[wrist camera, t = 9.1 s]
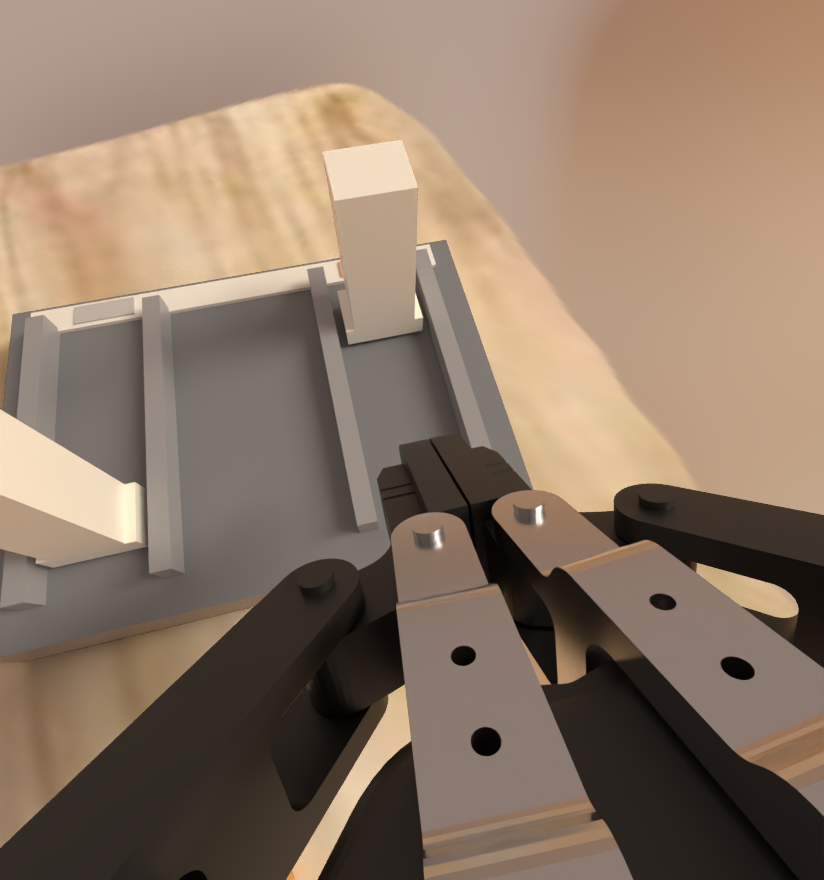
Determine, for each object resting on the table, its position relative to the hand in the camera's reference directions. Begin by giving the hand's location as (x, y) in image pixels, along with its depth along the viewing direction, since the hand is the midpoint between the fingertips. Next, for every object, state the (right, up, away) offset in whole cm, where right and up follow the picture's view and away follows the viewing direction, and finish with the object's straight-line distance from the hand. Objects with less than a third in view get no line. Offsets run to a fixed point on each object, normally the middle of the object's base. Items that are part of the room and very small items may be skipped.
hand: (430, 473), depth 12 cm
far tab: (-2, +7, +12) cm, 14 cm away
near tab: (-13, -3, +7) cm, 15 cm away
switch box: (-8, +1, +12) cm, 14 cm away
